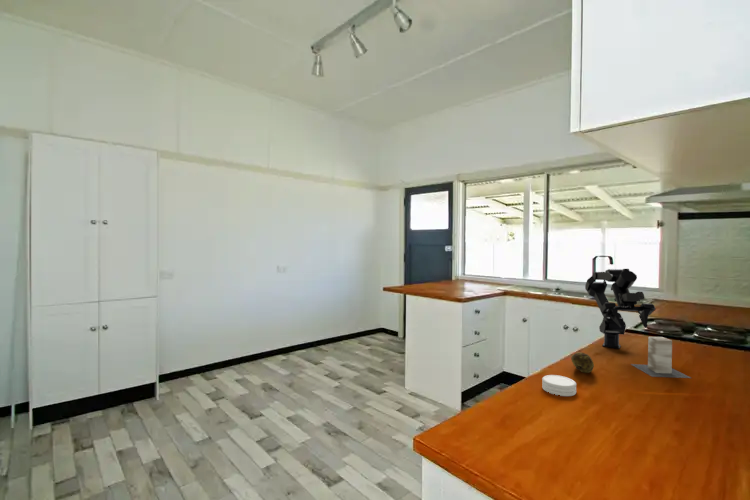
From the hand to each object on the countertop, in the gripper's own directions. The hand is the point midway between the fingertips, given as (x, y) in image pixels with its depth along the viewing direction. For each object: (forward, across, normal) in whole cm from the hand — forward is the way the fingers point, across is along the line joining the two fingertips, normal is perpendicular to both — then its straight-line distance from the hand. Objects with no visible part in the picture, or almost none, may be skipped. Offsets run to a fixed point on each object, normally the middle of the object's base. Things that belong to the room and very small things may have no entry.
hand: (633, 327), depth 147 cm
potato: (+22, -26, -6) cm, 35 cm away
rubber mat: (+19, +2, -2) cm, 19 cm away
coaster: (+34, -40, -21) cm, 56 cm away
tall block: (+19, +2, -3) cm, 19 cm away
